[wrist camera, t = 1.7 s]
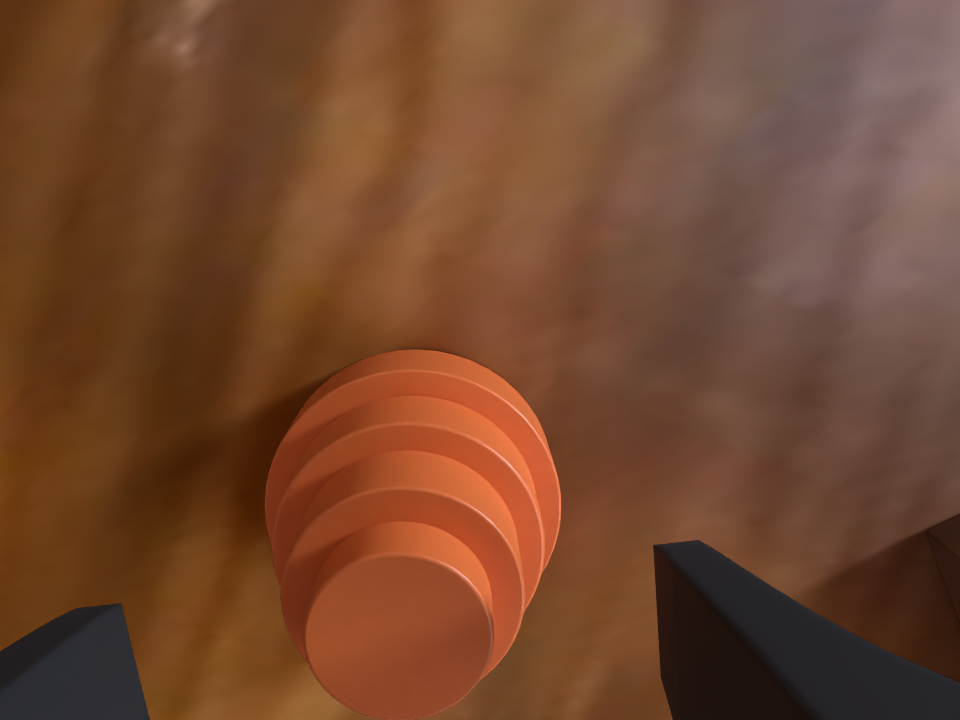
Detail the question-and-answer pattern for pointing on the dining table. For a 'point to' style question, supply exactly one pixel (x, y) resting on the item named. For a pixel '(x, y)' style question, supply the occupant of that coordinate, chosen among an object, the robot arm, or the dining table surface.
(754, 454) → the dining table surface
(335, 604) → the cone
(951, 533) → the block stack
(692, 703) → the robot arm
